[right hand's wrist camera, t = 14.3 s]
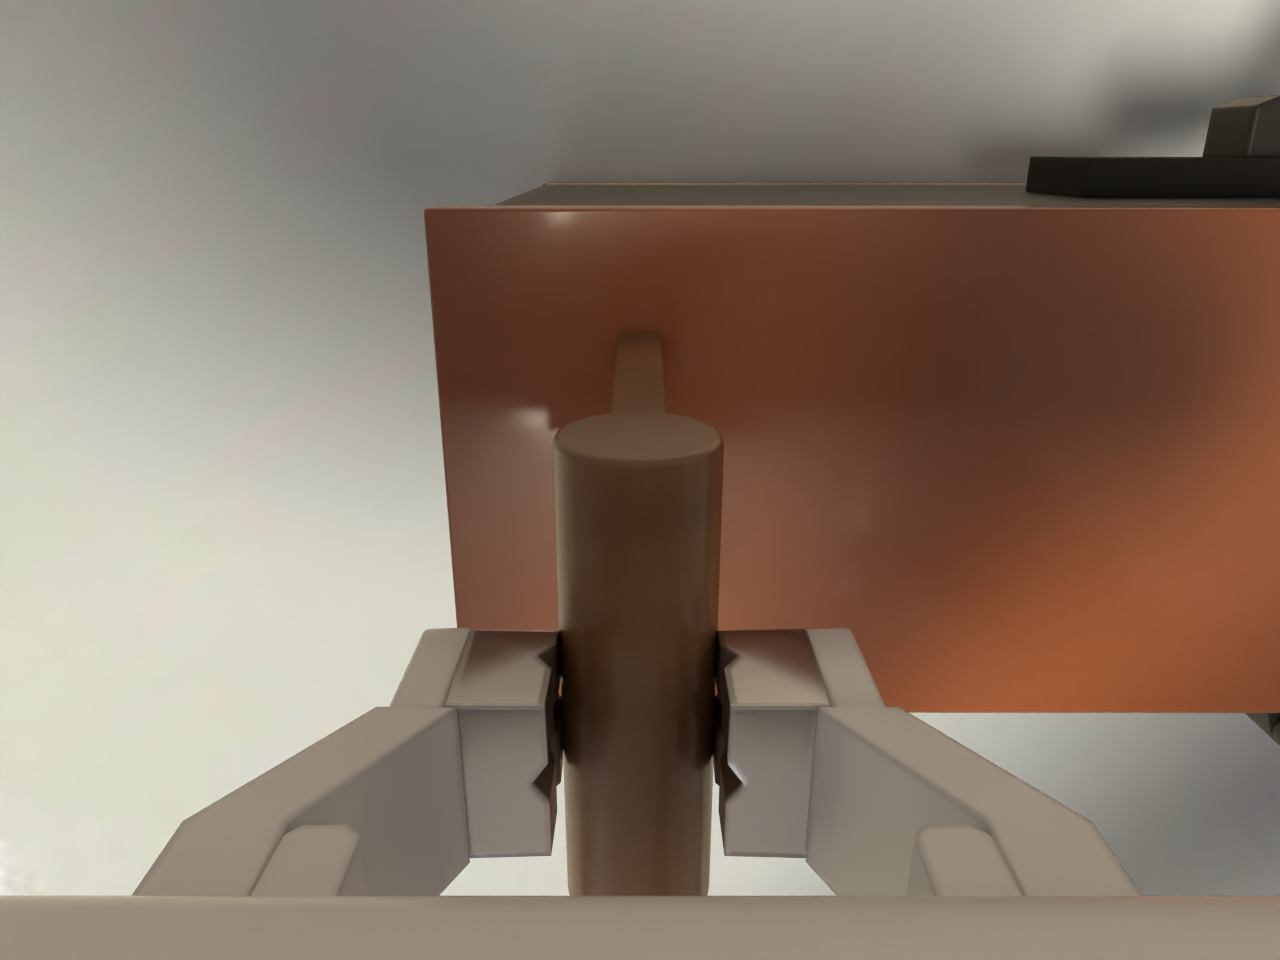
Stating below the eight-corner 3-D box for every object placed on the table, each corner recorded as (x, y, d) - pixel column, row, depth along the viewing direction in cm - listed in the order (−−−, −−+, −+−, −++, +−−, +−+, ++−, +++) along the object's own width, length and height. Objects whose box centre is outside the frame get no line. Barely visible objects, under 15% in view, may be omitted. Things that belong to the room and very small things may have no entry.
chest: (558, 506, 28) (517, 688, 19) (547, 182, 25) (490, 204, 15) (1046, 506, 28) (1252, 688, 19) (1101, 182, 25) (1385, 204, 15)
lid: (470, 689, 19) (355, 1055, 11) (433, 205, 15) (233, 260, 8) (1253, 689, 19) (1667, 1056, 11) (1386, 205, 15) (2105, 261, 8)
